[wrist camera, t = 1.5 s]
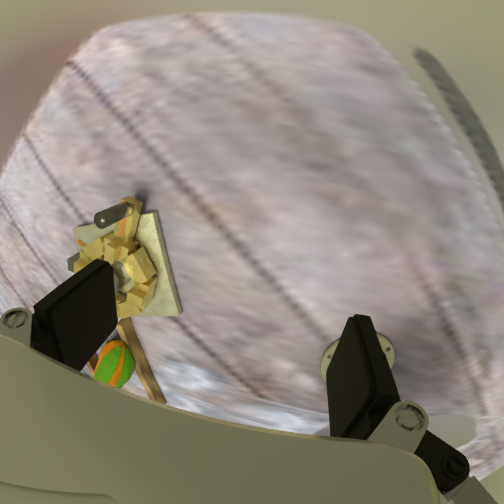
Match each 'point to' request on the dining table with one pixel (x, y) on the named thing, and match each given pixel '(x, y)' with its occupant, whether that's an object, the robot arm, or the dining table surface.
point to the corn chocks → (135, 361)
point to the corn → (114, 363)
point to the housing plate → (154, 246)
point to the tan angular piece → (123, 255)
